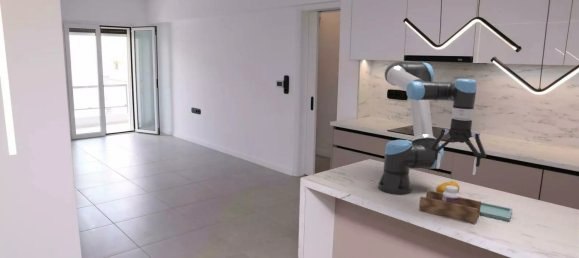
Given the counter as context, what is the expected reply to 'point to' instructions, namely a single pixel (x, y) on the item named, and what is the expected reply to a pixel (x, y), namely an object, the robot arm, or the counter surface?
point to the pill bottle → (451, 195)
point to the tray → (495, 211)
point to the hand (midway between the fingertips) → (455, 171)
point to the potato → (442, 186)
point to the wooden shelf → (450, 207)
